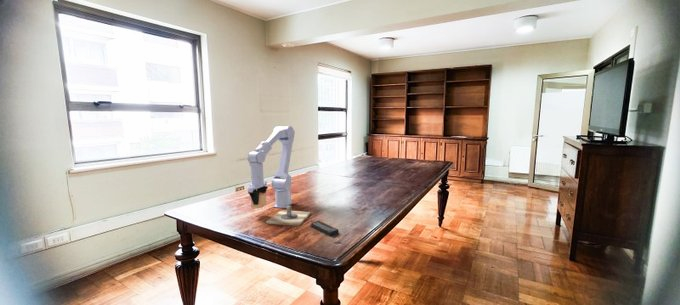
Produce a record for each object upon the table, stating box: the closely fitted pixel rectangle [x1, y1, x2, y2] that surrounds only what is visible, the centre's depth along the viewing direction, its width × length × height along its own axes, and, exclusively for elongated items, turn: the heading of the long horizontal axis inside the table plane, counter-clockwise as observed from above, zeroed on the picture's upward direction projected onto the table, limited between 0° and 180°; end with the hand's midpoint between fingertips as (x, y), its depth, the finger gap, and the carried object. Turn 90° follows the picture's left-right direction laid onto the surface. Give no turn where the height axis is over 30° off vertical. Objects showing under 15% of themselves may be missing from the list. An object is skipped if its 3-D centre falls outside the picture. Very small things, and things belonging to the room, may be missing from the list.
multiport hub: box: [310, 220, 339, 237], centre depth 123 cm, size 4×14×2 cm, turn 41°
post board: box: [266, 205, 311, 227], centre depth 138 cm, size 16×16×6 cm
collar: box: [250, 193, 267, 209], centre depth 141 cm, size 5×5×6 cm
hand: (258, 202), depth 141 cm, fingers closed on collar, 5 cm apart
